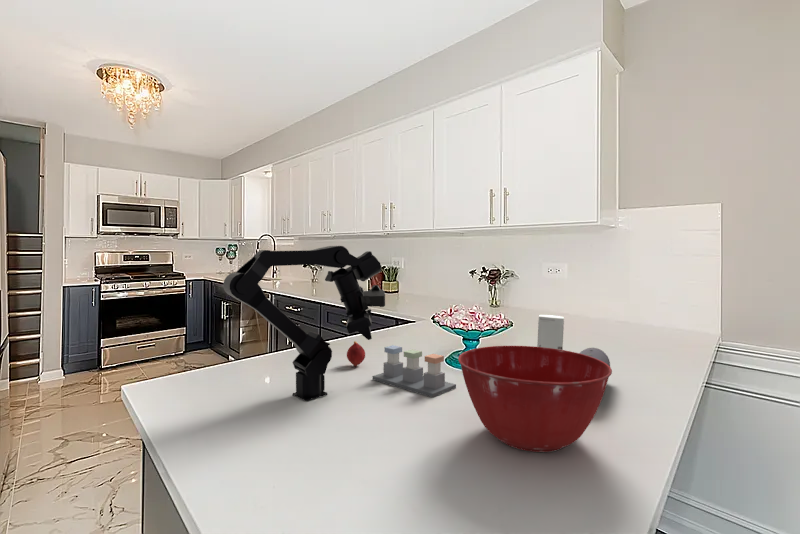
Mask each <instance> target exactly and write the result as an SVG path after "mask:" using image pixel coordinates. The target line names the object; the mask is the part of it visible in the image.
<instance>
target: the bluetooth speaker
mask: <svg viewBox="0 0 800 534" xmlns="http://www.w3.org/2000/svg"><path fill="white" fill-rule="evenodd" d="M579 353H580V354H584V355H587V356H590V357H593V358H596V359H598V360H601V361H603V362H604V363H606V364H607V365H609V366H610V367H611V361H610V358H609V356H608V355H607V354H606V353H605V352H604V351H603V350H601V349H599V348H597V347H587V348H585V349H583V350H581V351H580V352H579Z"/></svg>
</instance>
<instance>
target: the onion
mask: <svg viewBox="0 0 800 534" xmlns="http://www.w3.org/2000/svg"><path fill="white" fill-rule="evenodd" d="M346 358H347V360H348V362H349V363H350V364H352V365H353V367H357V366H359V365H360V364H362V363H363V362H364V360H365V358H366V352H365V349H364V347H363V346H362V345H361V344H359V343H358V342H357V341H356V340H354V341H353V344H352V345H351V346H350V347H349V348H348V349H347V351H346Z"/></svg>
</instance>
